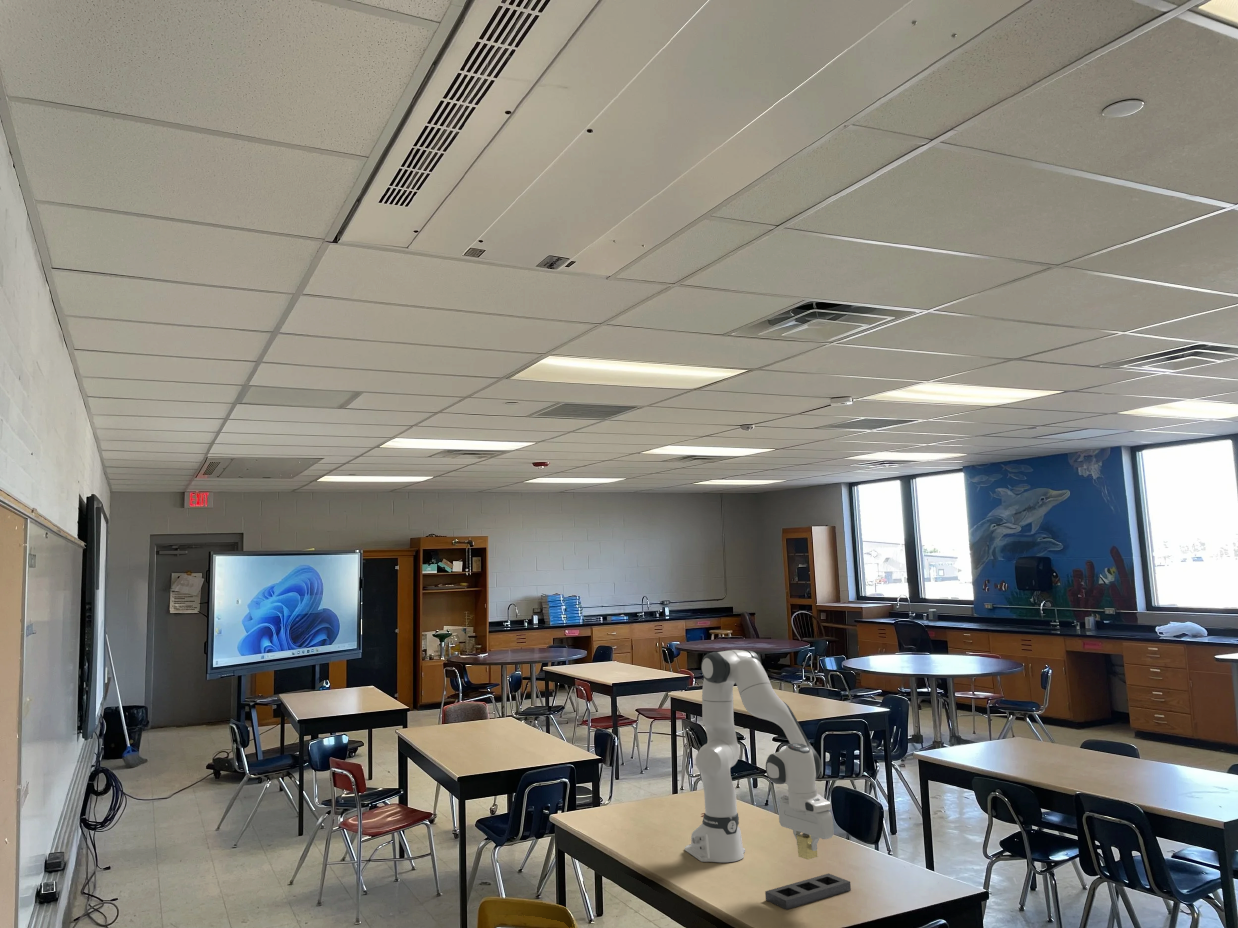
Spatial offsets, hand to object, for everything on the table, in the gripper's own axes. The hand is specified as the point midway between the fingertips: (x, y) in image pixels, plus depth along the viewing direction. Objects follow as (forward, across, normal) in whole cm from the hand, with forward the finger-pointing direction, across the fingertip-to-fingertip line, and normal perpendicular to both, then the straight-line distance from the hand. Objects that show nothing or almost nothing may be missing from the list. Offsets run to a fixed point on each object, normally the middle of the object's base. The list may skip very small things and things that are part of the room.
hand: (807, 847), depth 249 cm
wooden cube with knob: (+2, 0, 0) cm, 3 cm away
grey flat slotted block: (+13, -1, 0) cm, 13 cm away
